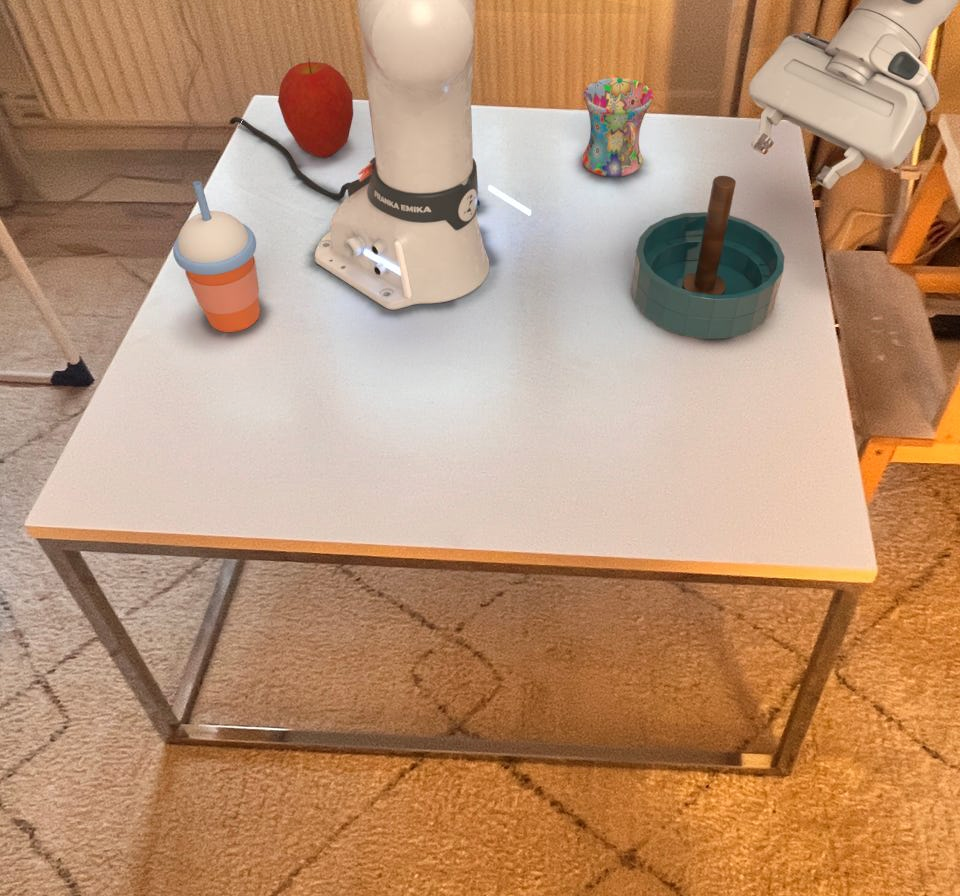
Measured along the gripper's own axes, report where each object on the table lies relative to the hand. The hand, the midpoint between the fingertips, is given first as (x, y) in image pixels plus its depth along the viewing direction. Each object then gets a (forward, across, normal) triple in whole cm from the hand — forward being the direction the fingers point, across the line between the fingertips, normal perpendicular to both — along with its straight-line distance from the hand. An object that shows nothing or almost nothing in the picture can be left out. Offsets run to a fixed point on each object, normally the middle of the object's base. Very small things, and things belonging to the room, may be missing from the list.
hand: (789, 167), depth 106 cm
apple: (+30, -58, -11) cm, 67 cm away
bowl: (+17, 0, +1) cm, 17 cm away
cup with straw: (+50, -32, -31) cm, 67 cm away
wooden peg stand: (+17, 0, +1) cm, 17 cm away
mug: (+10, -28, +10) cm, 31 cm away
